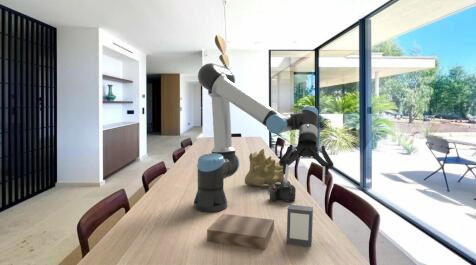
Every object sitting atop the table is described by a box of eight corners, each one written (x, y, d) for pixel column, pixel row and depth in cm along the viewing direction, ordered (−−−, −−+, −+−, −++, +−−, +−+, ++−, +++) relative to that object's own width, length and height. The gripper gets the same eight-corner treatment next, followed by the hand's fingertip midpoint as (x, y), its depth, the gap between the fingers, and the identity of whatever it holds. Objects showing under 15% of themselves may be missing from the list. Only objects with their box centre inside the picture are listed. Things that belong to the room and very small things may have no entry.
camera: (274, 204, 143) (275, 183, 142) (266, 198, 152) (267, 178, 151) (300, 202, 146) (301, 182, 145) (291, 196, 156) (291, 177, 155)
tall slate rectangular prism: (286, 243, 102) (287, 208, 101) (288, 237, 107) (289, 204, 106) (311, 247, 100) (312, 211, 99) (311, 241, 105) (313, 207, 103)
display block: (207, 240, 104) (207, 229, 103) (222, 223, 119) (222, 213, 118) (264, 249, 98) (265, 237, 97) (273, 230, 113) (274, 219, 113)
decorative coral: (232, 161, 185) (265, 136, 182) (253, 186, 192) (285, 162, 189) (237, 181, 161) (275, 153, 158) (261, 208, 168) (298, 182, 165)
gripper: (276, 131, 126) (269, 174, 113) (340, 132, 119) (340, 178, 106) (278, 142, 131) (271, 185, 118) (339, 144, 124) (339, 189, 111)
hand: (304, 182), depth 112 cm, fingers open, 13 cm apart
